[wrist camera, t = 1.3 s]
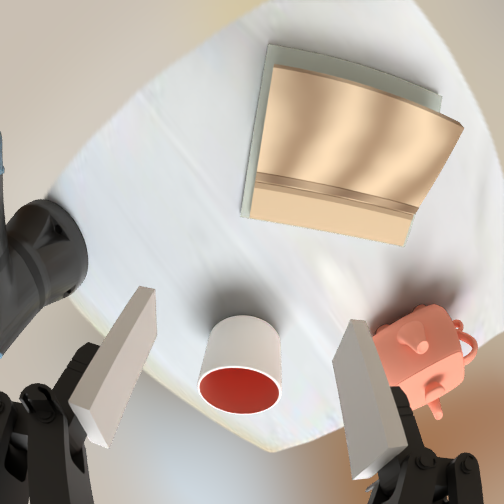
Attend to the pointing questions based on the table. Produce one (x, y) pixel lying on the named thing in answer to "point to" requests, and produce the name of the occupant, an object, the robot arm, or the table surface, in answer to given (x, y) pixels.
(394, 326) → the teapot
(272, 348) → the cup
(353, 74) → the pad
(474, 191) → the table surface
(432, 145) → the board
